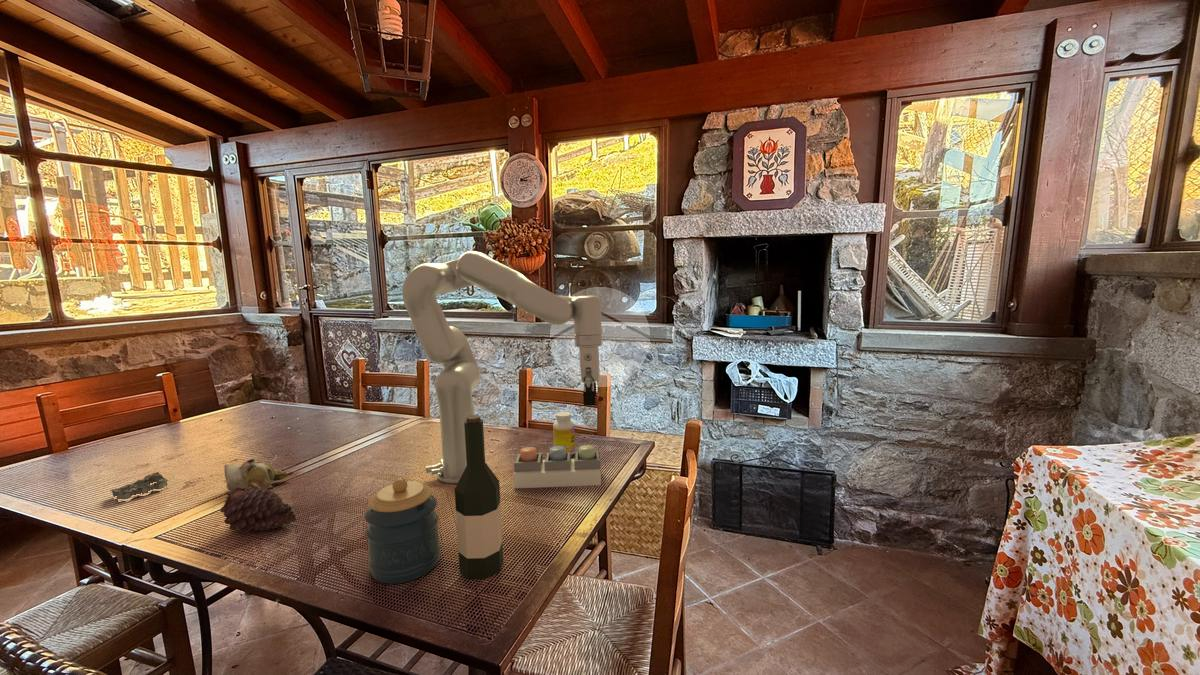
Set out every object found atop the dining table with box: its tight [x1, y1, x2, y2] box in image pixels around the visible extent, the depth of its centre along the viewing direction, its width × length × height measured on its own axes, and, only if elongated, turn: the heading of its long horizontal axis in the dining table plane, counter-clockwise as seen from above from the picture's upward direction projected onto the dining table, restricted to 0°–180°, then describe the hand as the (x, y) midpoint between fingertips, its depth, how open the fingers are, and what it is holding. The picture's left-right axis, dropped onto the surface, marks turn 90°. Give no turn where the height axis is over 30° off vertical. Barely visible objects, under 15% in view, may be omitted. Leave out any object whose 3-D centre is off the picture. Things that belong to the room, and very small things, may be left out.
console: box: [513, 450, 602, 489], centre depth 129 cm, size 23×9×6 cm, turn 92°
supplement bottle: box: [552, 411, 576, 456], centre depth 148 cm, size 7×7×13 cm
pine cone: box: [219, 487, 297, 533], centre depth 107 cm, size 18×10×10 cm
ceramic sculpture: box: [223, 458, 295, 492], centre depth 127 cm, size 11×9×15 cm
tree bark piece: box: [110, 471, 169, 500], centre depth 126 cm, size 10×7×4 cm
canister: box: [364, 477, 441, 585], centre depth 91 cm, size 13×13×18 cm
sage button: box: [578, 444, 596, 460], centre depth 129 cm, size 4×4×3 cm
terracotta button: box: [519, 446, 538, 462], centre depth 128 cm, size 4×4×3 cm
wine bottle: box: [454, 414, 504, 580], centre depth 89 cm, size 8×8×30 cm
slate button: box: [549, 445, 566, 461], centre depth 129 cm, size 4×4×3 cm
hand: (590, 400), depth 132 cm, fingers open, 9 cm apart
